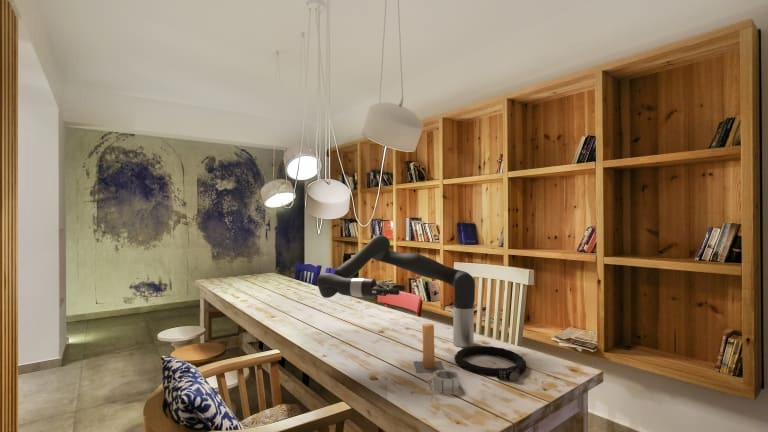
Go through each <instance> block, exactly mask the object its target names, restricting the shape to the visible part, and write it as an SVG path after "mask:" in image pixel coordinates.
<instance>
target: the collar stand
mask: <svg viewBox="0 0 768 432" xmlns="http://www.w3.org/2000/svg"><path fill="white" fill-rule="evenodd" d="M431 374H432V379H427V380H426V381H427V385H428V387H429V390H430V393H431V395H432V396H433V395H434V396H437V395H438V396H439V395H442V396H446V395H447V396H448V395H466V392H465V391H464V389H463V387H462V385H461V382H460V379H459V377H460V376H459V374H458V373H457V372H455V371H452V370H449V369H445V370H437V371H435V372H433V373H431Z"/></svg>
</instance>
